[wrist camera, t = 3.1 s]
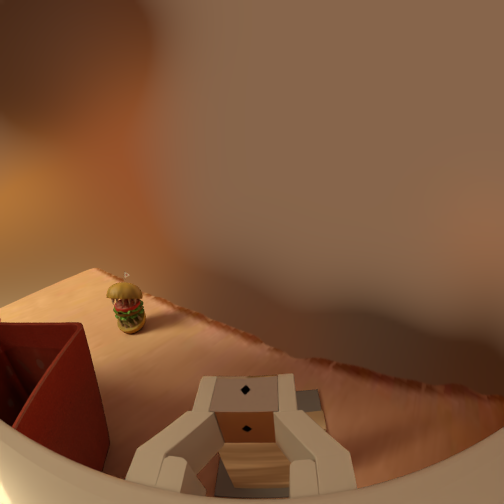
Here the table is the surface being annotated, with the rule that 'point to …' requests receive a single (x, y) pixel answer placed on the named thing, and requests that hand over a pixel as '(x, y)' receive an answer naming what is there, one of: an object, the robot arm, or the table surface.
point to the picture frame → (260, 462)
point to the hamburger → (127, 306)
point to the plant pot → (53, 390)
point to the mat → (225, 488)
